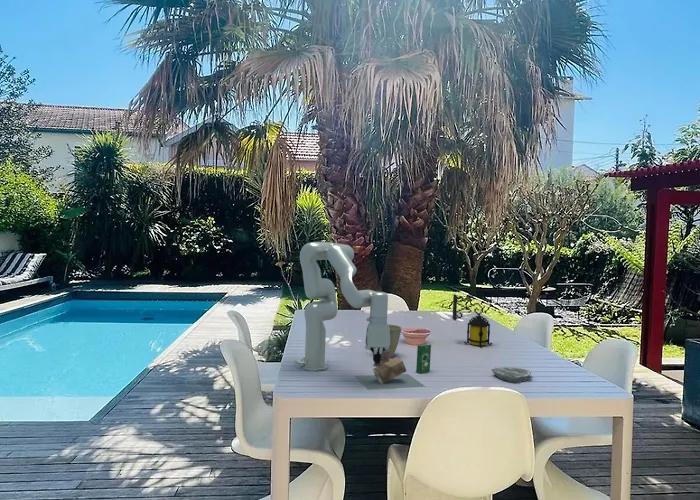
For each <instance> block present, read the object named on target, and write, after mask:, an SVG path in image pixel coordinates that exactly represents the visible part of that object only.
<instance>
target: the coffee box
mask: <svg viewBox="0 0 700 500" xmlns="http://www.w3.org/2000/svg"><path fill="white" fill-rule="evenodd" d="M416 350H417V352H416V367H415V369H416V370H415V371H416V372H415V373H417V374H423V373H427V372H430V371H431V352H432V343H431V344H430V343H423V344H418V345H417V349H416Z"/></svg>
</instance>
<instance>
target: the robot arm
mask: <svg viewBox="0 0 700 500" xmlns="http://www.w3.org/2000/svg"><path fill="white" fill-rule="evenodd" d="M299 252H300V253H299V262H300V266H301V270H302V278H303V287H304V293H305V295H306V298H308V299H310V300H317V299H320V300H318V301H312V302H310V303H308V304H307V305H306V306H305V308H304V312H303V314H304V320H305V347H304V356H303V358H301V359H295V360H294V364H295V365H297V364H298V365H301V369H303V370H305V371H311V372H321V371H325V370H327V369H328V368H329V366H328V364H326V341H327V340H326V339H327V337H326V336H327V334H326V332H327V331H326V330H327V329H326V327H325V324H324V322H326V321H330V320H333V319H334V318H336V317H337V314H338V302H337V294H336V288H335V284H334V283H333V281H332V280H331V279H329V278H324V277H323V278H322V272H321V269H320V266H319V263H318V262H317V261H318V260H319V261H321V260H324V261H325V260H327V261H329V263H330V264H331V266H332V268H333V269H334V270H335V272H336V273H337V275H338V277H339V278H340V280H339V281H340V284H339V285H340V289H341V293H342V295H343V298H345V300H346V302H347V303H348V305H350V306H351V307H352V308H355V309H361V308H368V307H370V308H369V316H368V317H366V322H369V323H367V327H366V333H365V346H364V348H365V350H367V351H371V352H372V360H373V363H374V362H375V363H380V361H381V354H382V352H383V351H384V350H386V349H389V346H390V329H389V325H390V324H389V323H388V309H389V307H388V306H389V303H388V302H389V295H388V293H387V292H384V291H375V290H372V289H362V290H361V289H359V290H358V289H357V287H356V286H355V284H354V282H353V277H354V276H355V275H356V273H357V267H356V266H355V264H354V263H353V261H352V260H354V257H355V252H354V249H353V247H352V246H351V245H348V244H342V243H337V242H331V241H330V242H329V241H313V242H311V241H310V242H307V243H306V244H304V245H303V246H302V247H301V250H300V251H299ZM377 348H378V351H377Z"/></svg>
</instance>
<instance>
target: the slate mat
mask: <svg viewBox="0 0 700 500" xmlns="http://www.w3.org/2000/svg"><path fill="white" fill-rule="evenodd" d="M353 377H354V378H355V379H356V380H357V381H358V382H359V383H360V384H362V385H363V387H365V388H366V390H368V391H369V390H384V389H385V390H386V389H387V390H389V389H404V388H405V389H406V388H409V389H410V388H425V387H426V386H425V385H424V384H423V383H421V382H420V381H419V380H417V378H415V377H413V376H412V375H410V374H409V373H402V374H400V375H398V376H396V377H395V378H393V379H391V380H389V381H387V382H385V383H383V384H381V383H380V382H379V381H378V380H377V379H376V377H375V374H372V375H371V374H369V375H354V376H353Z"/></svg>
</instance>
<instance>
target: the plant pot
mask: <svg viewBox="0 0 700 500" xmlns="http://www.w3.org/2000/svg"><path fill="white" fill-rule="evenodd" d="M389 329H390V346H389V349H386V350H390V358H393V357H394V355H395V352H396V351H397V348H398V346H399V345H398V344H399V340H400V337H401V332H402V326H400V325H397V324H389Z"/></svg>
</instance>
